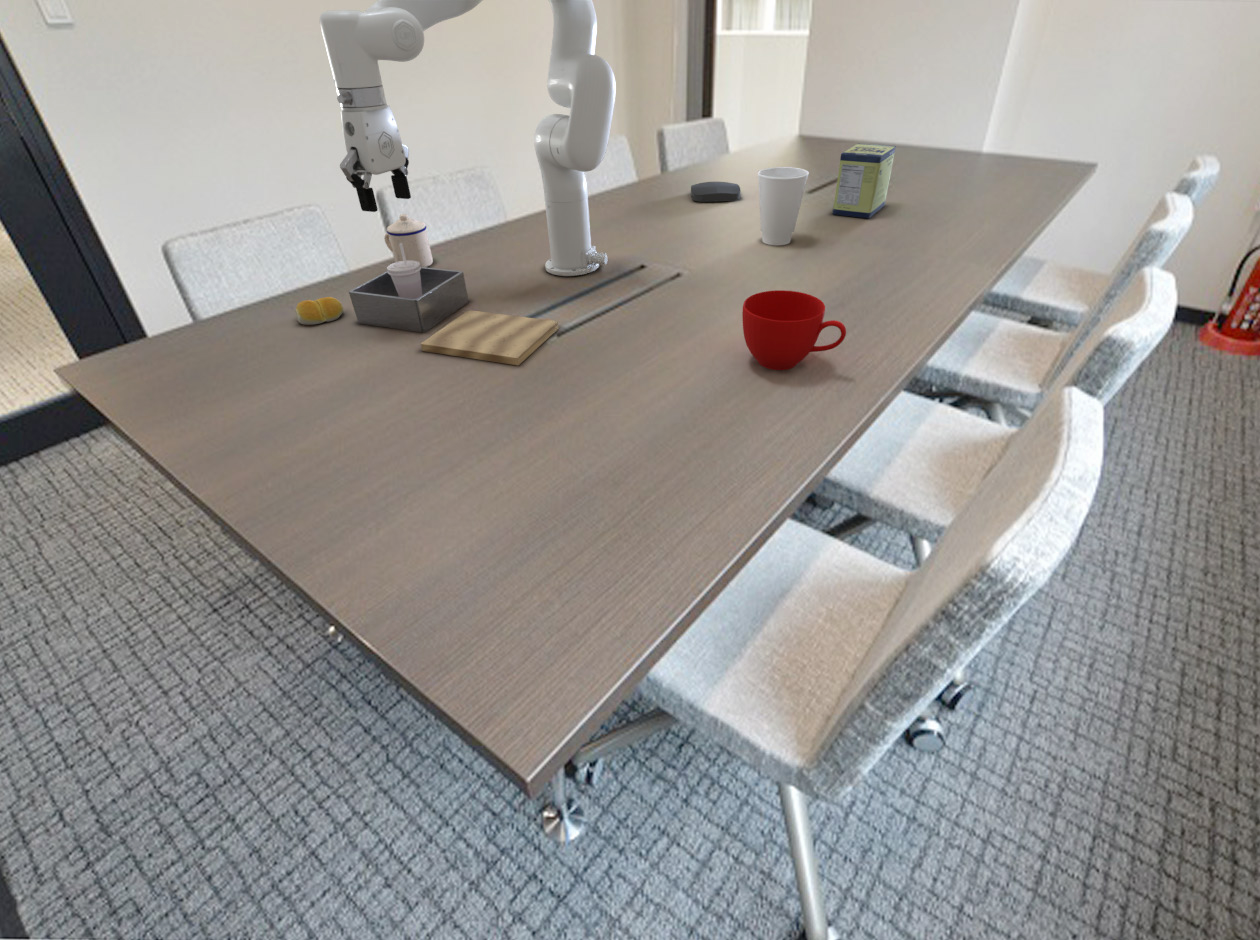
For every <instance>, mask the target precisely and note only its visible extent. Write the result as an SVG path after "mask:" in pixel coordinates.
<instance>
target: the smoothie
mask: <svg viewBox="0 0 1260 940" xmlns="http://www.w3.org/2000/svg"><path fill="white" fill-rule="evenodd" d="M399 246H400V250H401V254H402V258H403V261H399V262H396V261H395V262H392V263H390V264H388V266H387V267H386V271H388V274H390V275H391V278H392V280H393V283H394V285H395V288H396V290H397V293H398V295H399V297H403V298H411V299H417V298H419V297H420V296H422V286H421V277H420V270H421V267H420V263H419V262H417V261H412V260H407V261H406V258H405V254H404V250H403V245H402V243H399Z"/></svg>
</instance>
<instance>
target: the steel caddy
mask: <svg viewBox="0 0 1260 940" xmlns="http://www.w3.org/2000/svg"><path fill="white" fill-rule="evenodd" d="M420 277H421V286H422V296H420V297H419V298H417V299H411V298H403V297H399V295H398V293H397V290H396V288H395V285H394V283H393V280H392V278H391V275H390V274H388V270H386V271H384V272H382V273H380V274H379V275H376V276H375V277H373V278H371V279H369V280H368V281H365V282H364V283H362V284H359V285H358V286H355V287H354V288H352V289H350V290H348V294H349V297H350V300H351V304H352V307H353V310H354V314H355V317H356V320H357V323H359V324H360V325H368V326H375V327H380V328H381V327H382V328H390V329H396V330H403V331H409V332H417V333H426V332H428V331H429V330H431V329H432V328H433V327H435V326H437V325H438V324H439V323H441V322H442V321H443V320H445V319H447V318H448V317H450V316H451V315H452V314H454V313H455V312H457V311H458V310H460V309H461V308H463V307H464V306H465V305H467V304H469V303H470V301H469V300H470V299H469V294H468V290H467V285H466V280H465V275H464V271H461V270H454V269H444V268H436V267H421V270H420Z"/></svg>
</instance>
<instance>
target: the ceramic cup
mask: <svg viewBox="0 0 1260 940" xmlns="http://www.w3.org/2000/svg"><path fill="white" fill-rule="evenodd" d="M741 313H742V315H741V316H742V331H743V337H744V342H745V344H746V347H747V349H748V350H749V352H750V354H751V355H752V356H753V358H754V359H755V360H756V361H757V363H758V365H760V366H761V367H763V368H766V369H768V370H773V371H785V370H790V369H793V368H795V367H797V365H798V364H799V363H801V362H802V361H803V360H804V359H805V358H806V357H807V356H808V355H809V354H810V353H817V352H825V351H829V350H833V349H835V348H837V347H838V346H839V345H841V344H842V342H843V341H844V340H845V338H846V336H847V328H846V326H845V324H844V323H843V322H841V321H839V320H835V319H833V320H832V319H831V320H827V321H826V320H825V321H824V318H825V313H826V305H825V303H824V302H823V301H822V300H821V299H820V298H818V297H817V296H814V295H812V294H809V293H806V292H805V293H804V292H800V291H795V290H786V289H785V290H784V289H782V290H779V289H778V290H776V289H775V290H766V291H761V292H757V293H753V294H752V295H750V296H748V297H747V298H746V299H745V300H744V301H743V304H742V312H741ZM828 327H836V328H838V329H839V331H840V337H839V338H838V339H837V340H836V341H834V342H832V343H830V344H825V345H816V343H817V341H818V339H819V337H820V334H821V332H822V331H823V330H824V329H825V328H828Z"/></svg>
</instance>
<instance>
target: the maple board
mask: <svg viewBox="0 0 1260 940" xmlns="http://www.w3.org/2000/svg"><path fill="white" fill-rule="evenodd" d="M559 327H560V326H559V321H558V320H551V319H543V318H536V317H535V318H534V317H526V316H517V315H510V314H502V313H496V312H495V313H494V312H487V311H478V310H470V309H467V310H466V311H465V312H464V313H461V314H460V315H459V316H458V317H456V318H455V319H453V320H452V321H451V322H449V323H448V324H446V325H445V326H443V327H442V328H441V329H439V330H438V331H436V332H435V333H433V334H432V335H431V336H429V337H428V338H426V339H425V340H424V341H422V342H420V348H421V351H422V352H426V353H433V354H439V355H446V356H452V357H453V356H454V357H458V358H459V357H461V358H466V359H472V360H479V361H484V362H485V361H486V362H492V363H498V364H505V365H512V366H520V365H521V364H522V363H523V362H524V361H525V360H527V359H528V357H530V356H531V355H532V354H533V353H534V352H535V351H536V350H537V349H538V348H540V346H542V345H543V344H544V343H545V342H546V341H547V340H548V339H549V338H550V337H551V336H552V335H554V334H555V332H558V330H559V329H560V328H559Z"/></svg>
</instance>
